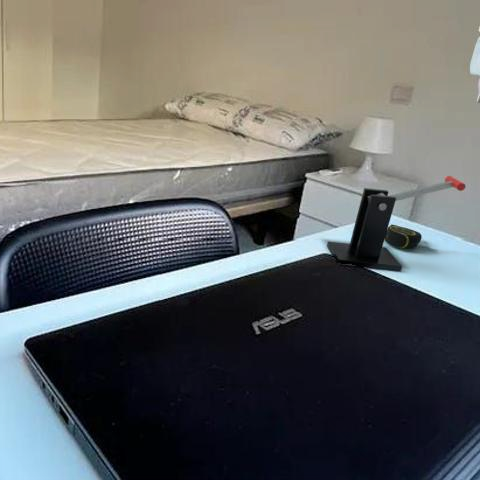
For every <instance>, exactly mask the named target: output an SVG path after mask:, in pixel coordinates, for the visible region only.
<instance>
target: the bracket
mask: <svg viewBox="0 0 480 480" xmlns="http://www.w3.org/2000/svg"><path fill="white" fill-rule="evenodd" d="M379 193H383V194H384V195H385V196H382V195H375V194H379ZM367 196H370V200H369V203H368V197H367ZM396 202H397V201H396V198H395V197H392V196H390V195H389V190H387V189H377V188H368V187H364V188H363V191H362V195H361V198H360V203H359V206H358V211H357V214H356V219H355V223H354V226H353V230H352V234H351V238H350V242H349V243H348V242H347V243H346V242H339V241H337V242H336V241H327V243H326V247H327V250H328V251H329V253H330V254H331V256H332V255H333V256H332V258H333V257H334V258H335V259H336V261H337V262H338V263H341V264H352V265H356V266H360V267H359V268H361V267H366V268H365V269H371V270H381V271H388V272H389V271H391V272H400V273H401V272H402V269H403V265H402V263H400V262H399V261H398V259H397V258H396V257H395V256H394V255H393V254H392V253H391V251H390V250H389V248H387V247H384V246H383V245H384V242H385V236H386V232H387V229H388V227H389V225H390V221H391V218H392V214H393V212H394V208H395V205H396V204H395V203H396ZM334 258H333V259H334ZM335 259H334V260H335ZM336 261H335V262H336Z"/></svg>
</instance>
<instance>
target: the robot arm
mask: <svg viewBox="0 0 480 480" xmlns="http://www.w3.org/2000/svg"><path fill="white" fill-rule="evenodd" d="M478 33H480V26H479V27H478ZM472 52H473V53H472V55H471V59H470V64H469V73H470V75H471V76H478V77H480V35H479V37H478V38H477V40H476V43H475V46H474V49H473V51H472ZM477 82H478V95H477V98H476V102H477V103H479V104H480V78H479V80H478V81H477Z"/></svg>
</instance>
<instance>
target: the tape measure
mask: <svg viewBox="0 0 480 480" xmlns="http://www.w3.org/2000/svg"><path fill="white" fill-rule="evenodd" d="M389 225H390V226H388V229H387V232H386V236H385V239H384V242H386V243H387V244H388V245H390V246H393V247H394V248H397V249H399V250H400V249H401V250H413V249H416V248H417V247H418V245H419V244H420V243H421V240H422V238H423V236H422V234H421V233H420V232H418V231H416V230H414V229H411V228H408V227H405V226H400V225H396V224H389Z"/></svg>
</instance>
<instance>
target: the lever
mask: <svg viewBox="0 0 480 480" xmlns="http://www.w3.org/2000/svg"><path fill="white" fill-rule="evenodd" d="M451 188H454V189H456V190H457V191H459V192H462V191H464V190H465V189H466V184H465V183H464V182H462V181H461V180H459V179H457V178H456V177H453V176H452V175H447V176H446V177H445V178H444V182H439V183H435V184H432V185H428V186H423V187H419V188H415V189H411V190H407V191H403V192H399V193H393V194H390V195H389V196H392V197H395V198H396V201H395V202H399V201H402V200H405V199H410V198H414V197H418V196H422V195H426V194H431V193H435V192H440V191H443V190H448V189H451ZM375 195H382V196H385V195H384V194H383V193H379V194H375ZM367 197H368V203H369V200H370V196H367Z"/></svg>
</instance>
